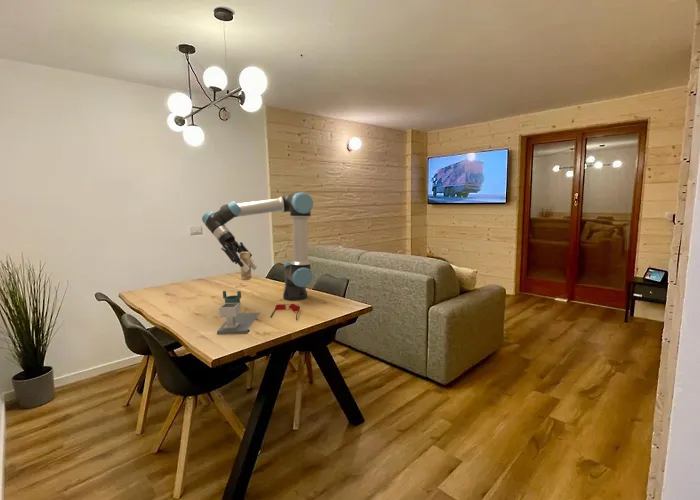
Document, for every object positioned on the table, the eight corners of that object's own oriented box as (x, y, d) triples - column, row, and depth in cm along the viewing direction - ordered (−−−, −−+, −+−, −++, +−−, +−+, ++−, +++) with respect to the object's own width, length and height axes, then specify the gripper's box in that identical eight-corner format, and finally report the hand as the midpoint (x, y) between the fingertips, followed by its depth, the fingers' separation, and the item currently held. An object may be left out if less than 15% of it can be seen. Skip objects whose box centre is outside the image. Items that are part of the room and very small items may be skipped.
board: (260, 315, 192) (260, 312, 192) (247, 333, 166) (247, 330, 166) (234, 316, 192) (234, 313, 191) (217, 334, 166) (216, 331, 166)
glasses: (300, 311, 197) (300, 302, 196) (297, 321, 181) (296, 312, 180) (275, 312, 197) (274, 303, 196) (269, 322, 181) (268, 313, 180)
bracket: (242, 306, 210) (241, 291, 209) (226, 308, 205) (225, 293, 204) (238, 302, 217) (237, 288, 216) (223, 305, 213) (221, 290, 212)
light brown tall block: (251, 278, 185) (249, 251, 183) (249, 280, 181) (247, 252, 179) (243, 278, 185) (241, 251, 183) (241, 280, 181) (239, 252, 179)
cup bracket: (241, 323, 175) (240, 302, 173) (237, 329, 167) (235, 307, 166) (226, 324, 175) (224, 303, 173) (220, 329, 167) (218, 307, 166)
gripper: (233, 239, 195) (259, 270, 190) (207, 243, 178) (235, 278, 174) (240, 229, 192) (266, 261, 187) (214, 233, 175) (242, 268, 171)
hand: (251, 269), depth 181 cm, fingers closed on light brown tall block, 5 cm apart
